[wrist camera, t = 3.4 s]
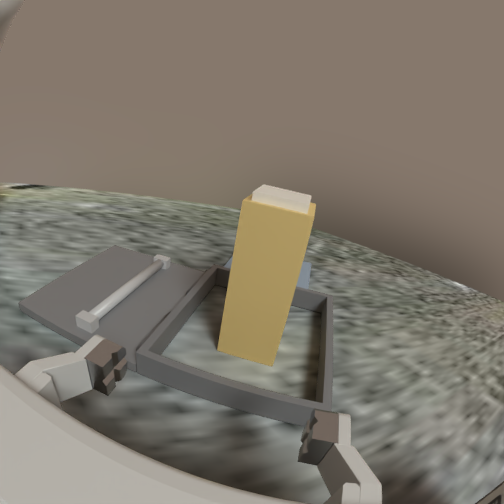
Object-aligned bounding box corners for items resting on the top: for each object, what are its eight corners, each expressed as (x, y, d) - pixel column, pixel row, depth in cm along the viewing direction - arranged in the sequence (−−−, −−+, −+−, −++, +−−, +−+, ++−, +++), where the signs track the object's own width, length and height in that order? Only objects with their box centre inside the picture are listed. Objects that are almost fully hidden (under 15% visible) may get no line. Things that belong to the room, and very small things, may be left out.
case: (20, 310, 21) (15, 290, 20) (114, 251, 36) (115, 236, 35) (320, 429, 17) (331, 411, 17) (327, 311, 32) (332, 295, 31)
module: (217, 350, 23) (244, 190, 19) (232, 321, 28) (259, 182, 23) (272, 366, 23) (316, 207, 18) (280, 334, 27) (317, 196, 22)
